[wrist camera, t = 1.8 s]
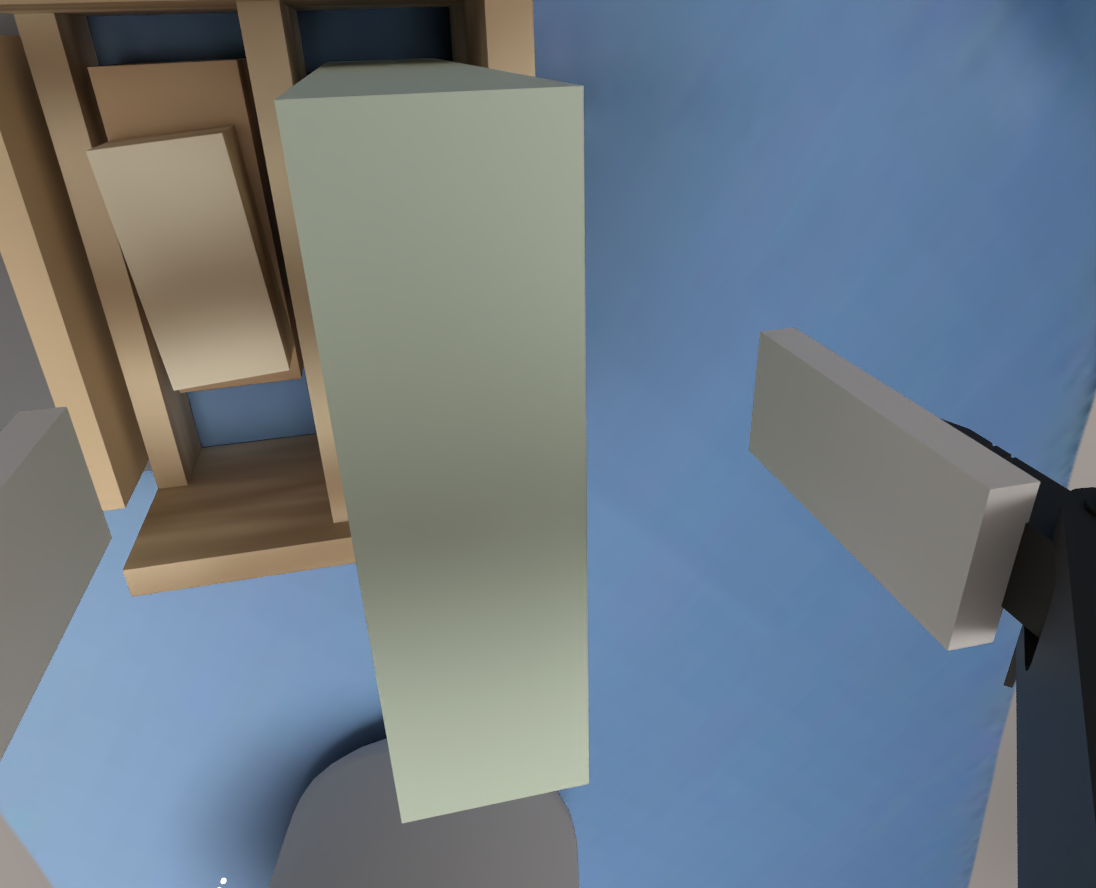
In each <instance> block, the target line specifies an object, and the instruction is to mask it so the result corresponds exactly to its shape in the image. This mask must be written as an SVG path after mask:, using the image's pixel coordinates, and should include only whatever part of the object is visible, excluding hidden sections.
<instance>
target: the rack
mask: <svg viewBox="0 0 1096 888" xmlns="http://www.w3.org/2000/svg"><path fill="white" fill-rule="evenodd" d="M420 7H449V15H450V27H451V40H452V53H453V62H457V63H463V64H468V65H474V66H479V67H484V68H490V69H495V70H501V71H506V72H512V73H517V74H522V75H528V76H533V77H535V52H534V23H533V0H0V13H10V14H14V17H15V21H16V24H17V27H18V31H19V34H20V37H21V40H22V44H23V47H24V50H25V54H26V57H27V60H28V63H29V67H30V70H31V73H32V76H33V80H34V83H35V86H36V90H37V93H38V96H39V99H40V103H41V106H42V109H43V113H44V116H45V119H46V122H47V126H48V129H49V132H50V136H51V139H52V142H53V145H54V149H55V152H56V155H57V159H58V162H59V165H60V168H61V172H62V175H63V178H64V182H65V185H66V188H67V191H68V195H69V198H70V201H71V204H72V208H73V211H74V214H75V218H76V221H77V224H78V227H79V231H80V234H81V237H82V241H83V244H84V247H85V250H86V254H87V257H88V260H89V264H90V267H91V270H92V273H93V277H94V280H95V283H96V287H97V290H98V293H99V296H100V300H101V303H102V306H103V310H104V313H105V316H106V319H107V323H108V326H109V329H110V332H111V336H112V339H113V342H114V346H115V349H116V352H117V355H118V359H119V362H120V365H121V369H122V372H123V375H124V378H125V382H126V385H127V388H128V392H129V395H130V398H131V401H132V405H133V408H134V411H135V415H136V418H137V421H138V424H139V428H140V431H141V434H142V438H143V441H144V444H145V447H146V451H147V454H148V457H149V460H150V464H151V467H152V470H153V474H154V477H155V480H156V483H157V487H158V490H157V493H156V495H155V497H154V500H153V502H152V504H151V507H150V509H149V511H148V513H147V516H146V518H145V520H144V523H143V525H142V527H141V529H140V532H139V534H138V536H137V539H136V541H135V543H134V546H133V548H132V550H131V552H130V555H129V557H128V559H127V562H126V564H125V566H124V568H123V573H124V576H125V579H126V582H127V584H128V587H129V590H130V593H131V596H139V595H145V594H152V593H158V592H165V591H172V590H178V589H185V588H192V587H198V586H205V585H211V584H218V583H225V582H231V581H238V580H245V579H251V578H258V577H264V576H271V575H278V574H284V573H291V572H297V571H304V570H311V569H317V568H324V567H331V566H337V565H344V564H350V563H356V561H355V555H354V549H353V544H352V538H351V532H350V527H349V521H348V515H347V510H346V504H345V498H344V493H343V487H342V481H341V476H340V470H339V464H338V459H337V453H336V447H335V442H334V436H333V430H332V425H331V419H330V413H329V408H328V402H327V396H326V391H325V385H324V380H323V374H322V368H321V363H320V357H319V351H318V346H317V340H316V334H315V329H314V323H313V317H312V312H311V306H310V300H309V295H308V289H307V283H306V278H305V272H304V266H303V261H302V255H301V249H300V244H299V238H298V232H297V227H296V221H295V215H294V210H293V204H292V198H291V193H290V187H289V181H288V176H287V170H286V164H285V159H284V153H283V147H282V142H281V136H280V130H279V125H278V119H277V113H276V108H275V102H274V100H275V99H276V98H277V97H279V96H280V95H282V94H283V93H284V92H286V91H287V90H288V89H290V88H291V87H293V86H294V85H295V84H297V83H298V82H299V81H301V80H302V79H304V78H305V77H306V76H307V74H306V67H305V61H304V54H303V48H302V42H301V35H300V29H299V23H298V16H297V11H303V10H342V9H381V8H420ZM226 12H238V16H239V22H240V27H241V32H242V38H243V43H244V48H245V54H246V59H247V64H248V70H249V75H250V80H251V86H252V91H253V96H254V102H255V107H256V112H257V118H258V123H259V128H260V134H261V139H262V144H263V150H264V155H265V160H266V166H267V171H268V176H269V182H270V187H271V192H272V198H273V203H274V208H275V214H276V219H277V224H278V230H279V235H280V240H281V246H282V251H283V256H284V262H285V267H286V272H287V278H288V283H289V288H290V294H291V299H292V304H293V310H294V315H295V320H296V326H297V331H298V336H299V342H300V347H301V352H302V358H303V363H304V368H305V374H306V379H307V384H308V390H309V395H310V400H311V406H312V411H313V416H314V422H315V427H316V432H317V434H312V435H303V436H295V437H287V438H279V439H270V440H262V441H254V442H246V443H237V444H229V445H221V446H212V447H204V448H201V444H200V441H199V437H198V433H197V429H196V426H195V422H194V418H193V414H192V411H191V407H190V403H189V399H188V396H187V392H184V393H180V390H175V391H174V390H173V388H172V385H171V382H170V379H169V377H168V374H167V371H166V368H165V366H164V363H163V360H162V358H161V355H160V352H159V349H158V347H157V344H156V341H155V339H154V336H153V333H152V330H151V328H150V325H149V322H148V320H147V317H146V314H145V311H144V309H143V306H142V303H141V300H140V298H139V295H138V292H137V290H136V287H135V284H134V281H133V279H132V276H131V273H130V271H129V268H128V265H127V262H126V260H125V257H124V254H123V252H122V249H121V246H120V243H119V241H118V238H117V235H116V232H115V230H114V227H113V224H112V222H111V219H110V216H109V213H108V211H107V208H106V205H105V203H104V200H103V197H102V194H101V192H100V189H99V186H98V184H97V181H96V178H95V175H94V173H93V170H92V167H91V164H90V162H89V159H88V156H87V154H86V151H87V150H89V149H92V148H94V147H97V146H99V145H102V144H104V143H106V142H108V138H107V135H106V131H105V128H104V124H103V121H102V117H101V114H100V110H99V107H98V103H97V100H96V96H95V93H94V89H93V86H92V82H91V79H90V75H89V72H88V68H87V67H94V66H99V62H98V59H97V55H96V51H95V47H94V44H93V40H92V36H91V32H90V29H89V25H88V21H87V17H86V16H109V15H148V14H187V13H226Z"/></svg>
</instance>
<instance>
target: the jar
mask: <svg viewBox="0 0 1096 888" xmlns="http://www.w3.org/2000/svg"><path fill="white" fill-rule="evenodd" d="M221 883H222V884H225V883H226V878H222V879H221ZM218 888H221V887H218ZM268 888H579V874H578V852H577V840H576V834H575V829H574V825H573V822H572V818H571V815H570V812H569V809H568V807H567V806H566V804H565V802H564V801H563V799H562V798H561V796H560V794H559V793H558V791H553V792H548V793H543V794H538V795H534V796H529V797H524V798H520V799H515V800H510V801H505V802H501V803H496V804H491V805H487V806H482V807H477V808H472V809H468V810H463V811H458V812H454V813H449V814H444V815H440V816H435V817H430V818H425V819H421V820H416V821H411V822H407V823H402V821H401V815H400V810H399V804H398V798H397V793H396V787H395V781H394V776H393V770H392V764H391V759H390V753H389V748H388V742H387V739H383V740H380V741H377V742H374V743H371V744H368V745H366V746H363V747H360V748H359V749H357V750H355V751H353V752H351V753H349V754H348V755H346V756H344V757H342V758H340V759H339V760H337V761H336V762H334V763H332V764H331V765H330V766H328V767H327V768H326V769H325V770H324V771H323V772H321V773H320V774H319V775H318V776H317V777H316V778H314V779H313V781H312V782H311V783H310V785H309V786H308V788H307V789H306V790H305V792H304V793H303V795H302V796H301V798H300V800H299V802H298V804H297V806H296V808H295V810H294V813H293V816H292V818H291V821H290V824H289V827H288V830H287V833H286V836H285V839H284V842H283V845H282V848H281V851H280V854H279V857H278V860H277V863H276V866H275V869H274V872H273V875H272V878H271V881H270V884H269V887H268Z"/></svg>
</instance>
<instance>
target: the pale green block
mask: <svg viewBox="0 0 1096 888" xmlns="http://www.w3.org/2000/svg"><path fill="white" fill-rule="evenodd" d="M274 102H275V108H276V113H277V119H278V125H279V130H280V136H281V142H282V147H283V153H284V159H285V164H286V170H287V176H288V181H289V187H290V193H291V198H292V204H293V210H294V215H295V221H296V227H297V232H298V238H299V244H300V249H301V255H302V261H303V266H304V272H305V278H306V283H307V289H308V295H309V300H310V306H311V312H312V317H313V323H314V329H315V334H316V340H317V346H318V351H319V357H320V363H321V368H322V374H323V380H324V385H325V391H326V396H327V402H328V408H329V413H330V419H331V425H332V430H333V436H334V442H335V447H336V453H337V459H338V464H339V470H340V476H341V481H342V487H343V493H344V498H345V504H346V510H347V515H348V521H349V527H350V532H351V538H352V544H353V549H354V555H355V561H356V566H357V572H358V578H359V583H360V589H361V595H362V600H363V606H364V612H365V617H366V623H367V629H368V634H369V640H370V646H371V651H372V657H373V663H374V668H375V674H376V680H377V685H378V691H379V697H380V702H381V708H382V714H383V719H384V725H385V731H386V736H387V742H388V748H389V753H390V759H391V764H392V770H393V776H394V781H395V787H396V793H397V798H398V804H399V810H400V815H401V821H402V823H407V822H411V821H416V820H421V819H425V818H430V817H435V816H440V815H444V814H449V813H454V812H458V811H463V810H468V809H472V808H477V807H482V806H487V805H491V804H496V803H501V802H505V801H510V800H515V799H520V798H524V797H529V796H534V795H538V794H543V793H548V792H553V791H557V790H562V789H567V788H571V787H576V786H581V785H585V784H589V732H588V601H587V470H586V340H585V209H584V86H582V85H576V84H571V83H566V82H560V81H555V80H549V79H544V78H539V77H533V76H528V75H522V74H517V73H512V72H506V71H501V70H495V69H490V68H484V67H479V66H474V65H468V64H463V63H457V62H452V61H447V60H441V59H436V58H414V59H387V60H361V61H334V62H326V63H324V64H323V65H321V66H320V67H319V68H317V69H316V70H315V71H313V72H312V73H310V74H309V75H308V76H306V77H305V78H304V79H302V80H301V81H299V82H298V83H297V84H295V85H294V86H293V87H291V88H290V89H288V90H287V91H286V92H284V93H283V94H282V95H280V96H279V97H277V98H276V99H275V100H274Z"/></svg>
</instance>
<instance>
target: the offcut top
mask: <svg viewBox="0 0 1096 888" xmlns="http://www.w3.org/2000/svg"><path fill="white" fill-rule="evenodd" d="M86 154H87V156H88V159H89V162H90V164H91V167H92V170H93V173H94V175H95V178H96V181H97V184H98V186H99V189H100V192H101V194H102V197H103V200H104V203H105V205H106V208H107V211H108V213H109V216H110V219H111V222H112V224H113V227H114V230H115V232H116V235H117V238H118V241H119V243H120V246H121V249H122V252H123V254H124V257H125V260H126V262H127V265H128V268H129V271H130V273H131V276H132V279H133V281H134V284H135V287H136V290H137V292H138V295H139V298H140V300H141V303H142V306H143V309H144V311H145V314H146V317H147V320H148V322H149V325H150V328H151V330H152V333H153V336H154V339H155V341H156V344H157V347H158V349H159V352H160V355H161V358H162V360H163V363H164V366H165V368H166V371H167V374H168V377H169V379H170V382H171V385H172V388H173V390H174V391H175V390H181V389H187V388H192V387H198V386H203V385H209V384H215V383H220V382H226V381H232V380H237V379H243V378H248V377H254V376H260V375H265V374H271V373H277V372H282V371H288V370H290V366H291V360H292V355H293V349H294V344H295V343H294V339H293V336H292V332H291V329H290V325H289V321H288V318H287V314H286V311H285V307H284V303H283V300H282V296H281V292H280V289H279V285H278V282H277V278H276V274H275V271H274V267H273V264H272V260H271V256H270V253H269V249H268V246H267V242H266V238H265V235H264V231H263V227H262V224H261V220H260V217H259V213H258V209H257V206H256V202H255V199H254V195H253V191H252V188H251V184H250V181H249V177H248V173H247V170H246V166H245V162H244V159H243V155H242V152H241V148H240V144H239V141H238V137H237V134H236V130H235V126H234V125H227V126H219V127H211V128H204V129H196V130H188V131H181V132H173V133H166V134H158V135H150V136H143V137H135V138H127V139H120V140H112V141H109V142H106V143H104V144H102V145H99V146H97V147H94V148H92V149H89V150H87V151H86Z"/></svg>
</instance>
